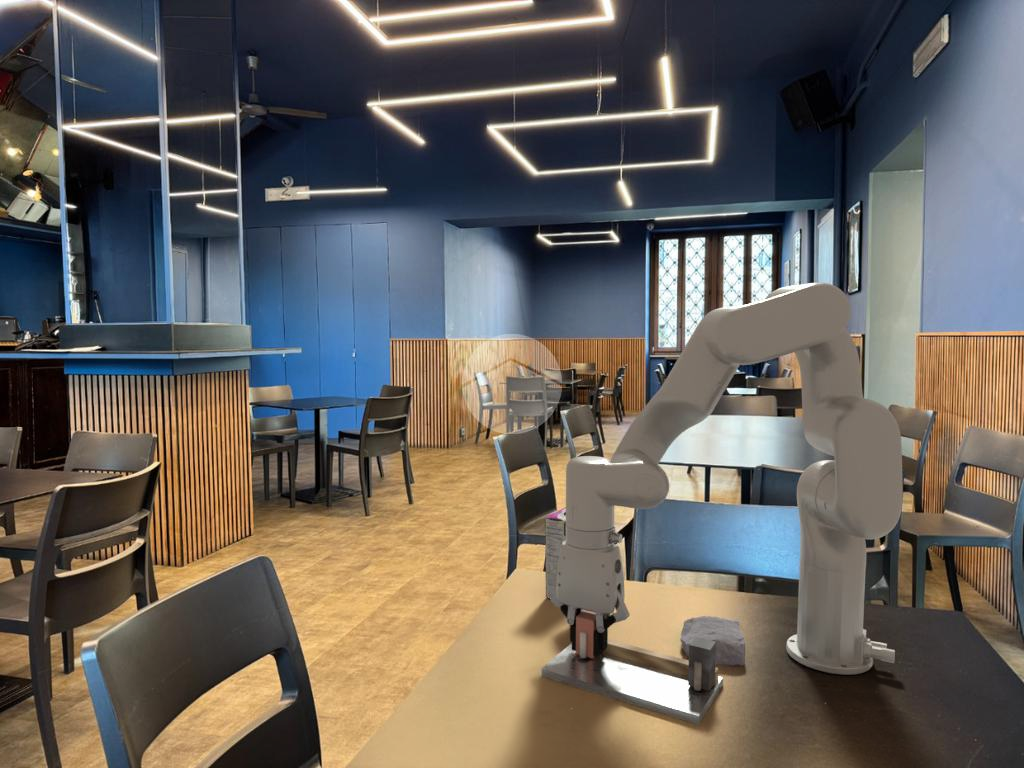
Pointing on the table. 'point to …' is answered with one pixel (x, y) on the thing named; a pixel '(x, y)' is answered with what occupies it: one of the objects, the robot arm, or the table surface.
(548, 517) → the candy bar box
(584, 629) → the block
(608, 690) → the bolt plate
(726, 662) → the stone block
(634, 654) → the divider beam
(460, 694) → the table surface
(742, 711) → the table surface
